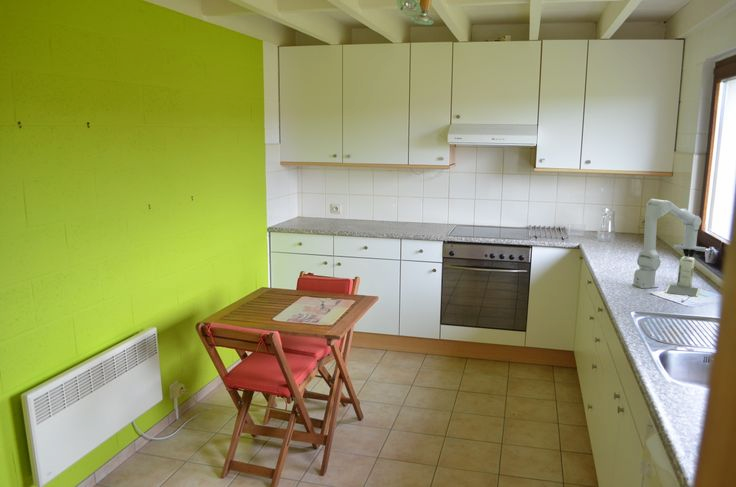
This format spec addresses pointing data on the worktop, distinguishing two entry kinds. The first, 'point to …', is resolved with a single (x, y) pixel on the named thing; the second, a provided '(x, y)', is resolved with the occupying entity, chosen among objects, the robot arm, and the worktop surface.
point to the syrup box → (686, 271)
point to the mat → (682, 290)
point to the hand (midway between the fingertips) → (687, 263)
